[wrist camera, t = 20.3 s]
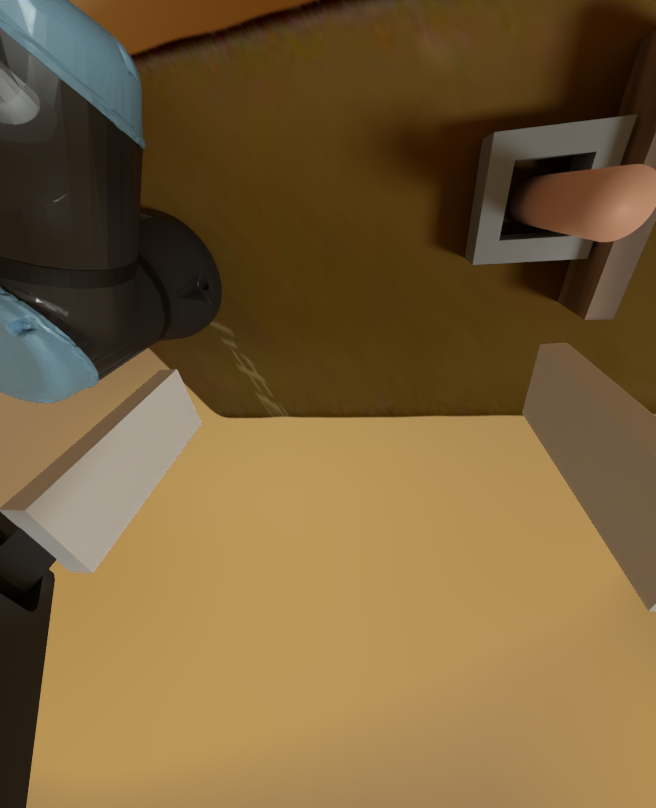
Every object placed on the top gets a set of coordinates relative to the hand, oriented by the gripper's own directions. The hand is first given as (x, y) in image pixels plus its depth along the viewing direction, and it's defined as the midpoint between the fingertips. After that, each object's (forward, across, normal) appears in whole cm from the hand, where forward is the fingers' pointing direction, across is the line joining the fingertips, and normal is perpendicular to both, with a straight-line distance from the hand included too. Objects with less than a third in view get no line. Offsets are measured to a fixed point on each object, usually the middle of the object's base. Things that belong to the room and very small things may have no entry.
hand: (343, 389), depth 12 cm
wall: (+28, +23, +2) cm, 36 cm away
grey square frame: (+28, +16, +3) cm, 33 cm away
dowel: (+28, +16, +3) cm, 33 cm away
